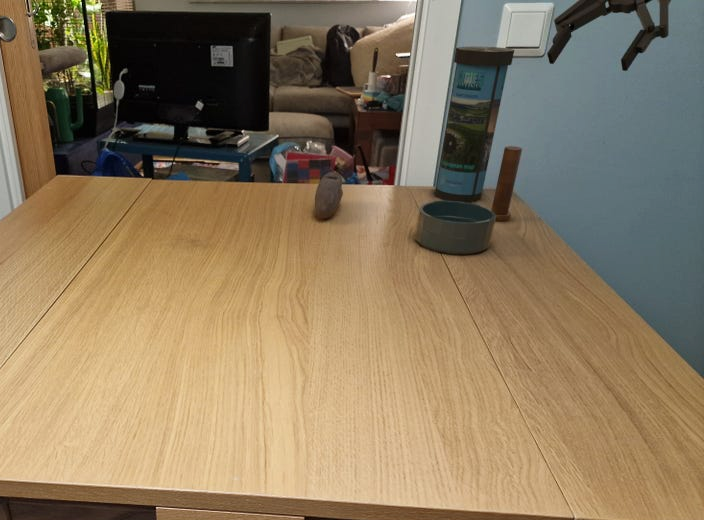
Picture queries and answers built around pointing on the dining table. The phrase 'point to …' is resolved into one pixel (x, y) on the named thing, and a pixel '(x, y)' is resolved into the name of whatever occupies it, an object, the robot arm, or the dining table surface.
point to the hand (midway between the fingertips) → (585, 62)
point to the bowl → (455, 227)
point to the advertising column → (471, 121)
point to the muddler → (506, 182)
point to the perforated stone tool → (328, 194)
